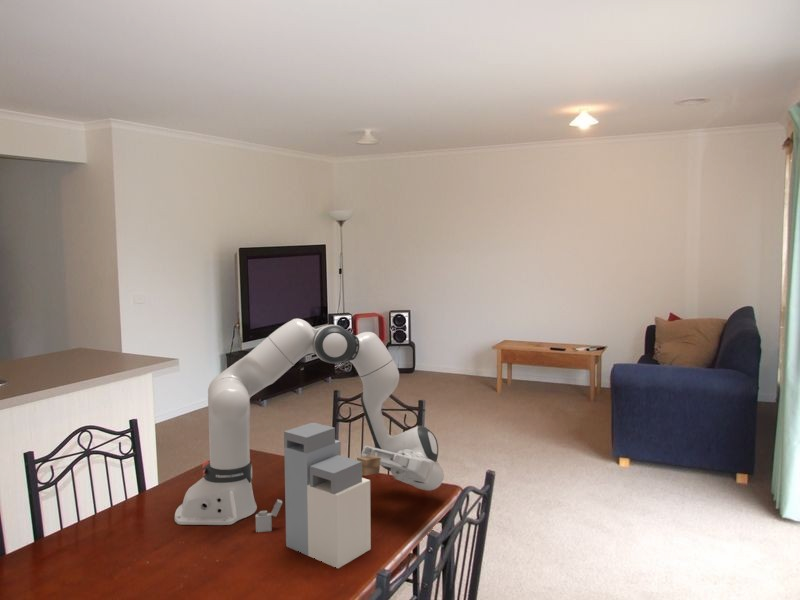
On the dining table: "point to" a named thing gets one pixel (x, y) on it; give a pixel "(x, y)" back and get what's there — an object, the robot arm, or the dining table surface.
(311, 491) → the stand
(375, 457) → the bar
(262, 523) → the lighter
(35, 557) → the dining table surface
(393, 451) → the robot arm
